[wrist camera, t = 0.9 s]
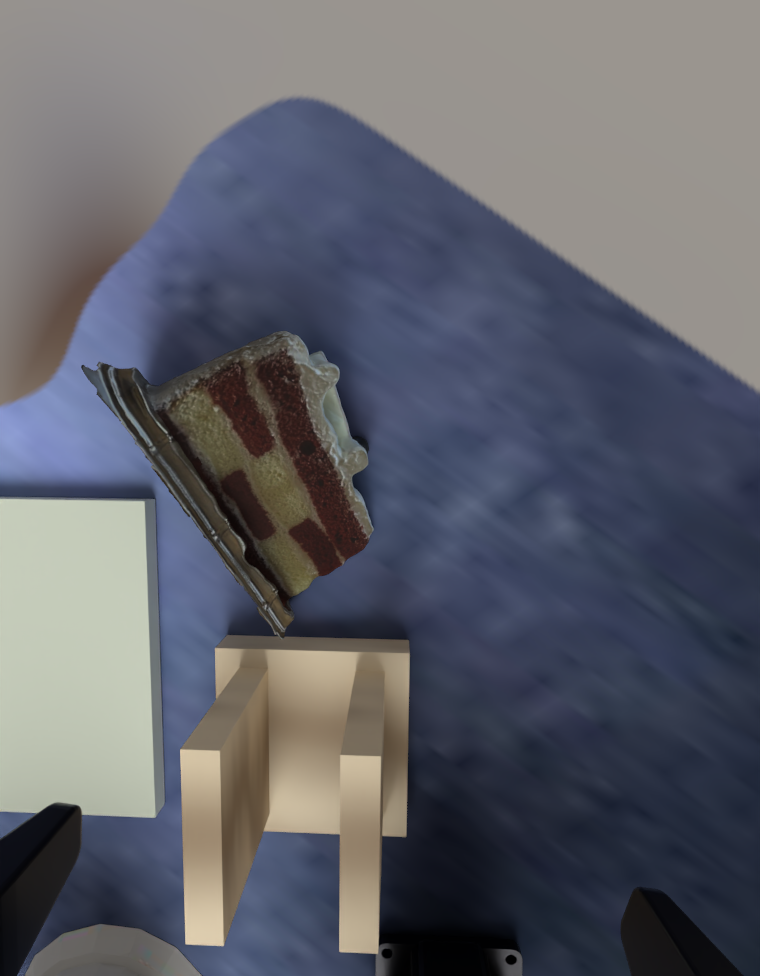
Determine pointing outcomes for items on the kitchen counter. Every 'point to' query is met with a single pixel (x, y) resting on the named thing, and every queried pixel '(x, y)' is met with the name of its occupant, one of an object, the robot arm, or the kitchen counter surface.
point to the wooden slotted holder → (296, 771)
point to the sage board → (80, 656)
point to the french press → (110, 954)
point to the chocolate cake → (254, 461)
